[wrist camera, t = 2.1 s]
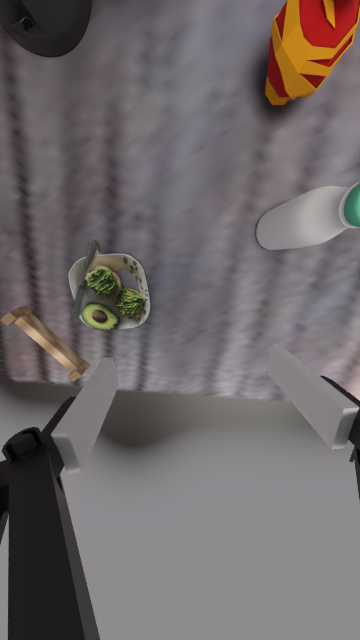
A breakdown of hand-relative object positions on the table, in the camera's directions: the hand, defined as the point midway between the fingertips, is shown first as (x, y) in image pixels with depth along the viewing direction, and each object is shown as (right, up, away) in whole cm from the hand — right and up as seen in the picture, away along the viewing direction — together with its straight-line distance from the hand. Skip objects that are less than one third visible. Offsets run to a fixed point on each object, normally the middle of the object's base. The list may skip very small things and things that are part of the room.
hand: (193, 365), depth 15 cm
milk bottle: (+18, +23, +22) cm, 37 cm away
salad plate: (-17, +9, +25) cm, 32 cm away
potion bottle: (+16, +43, +15) cm, 48 cm away
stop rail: (-31, -1, +28) cm, 42 cm away
